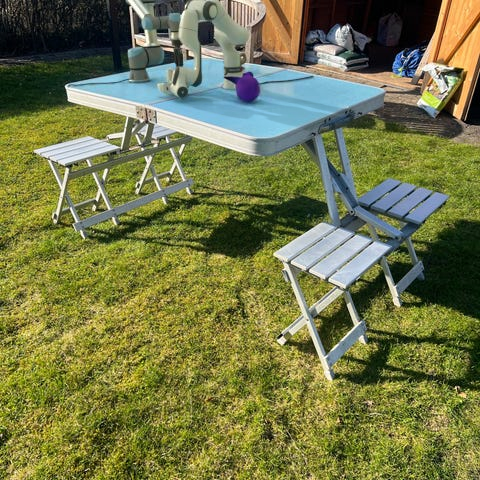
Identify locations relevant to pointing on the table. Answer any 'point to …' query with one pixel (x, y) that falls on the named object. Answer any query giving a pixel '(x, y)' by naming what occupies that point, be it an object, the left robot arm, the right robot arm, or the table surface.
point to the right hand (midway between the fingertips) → (170, 83)
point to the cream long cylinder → (169, 75)
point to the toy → (246, 86)
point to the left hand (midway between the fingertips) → (180, 75)
